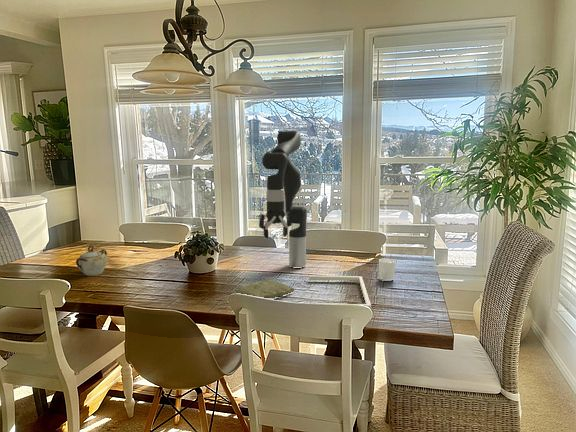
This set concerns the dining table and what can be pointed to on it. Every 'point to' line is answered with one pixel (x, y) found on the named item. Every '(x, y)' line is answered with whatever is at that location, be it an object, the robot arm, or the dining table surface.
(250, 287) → the decorative tile
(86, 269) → the sugar bowl
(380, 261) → the white cup
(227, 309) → the dining table surface
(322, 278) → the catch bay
